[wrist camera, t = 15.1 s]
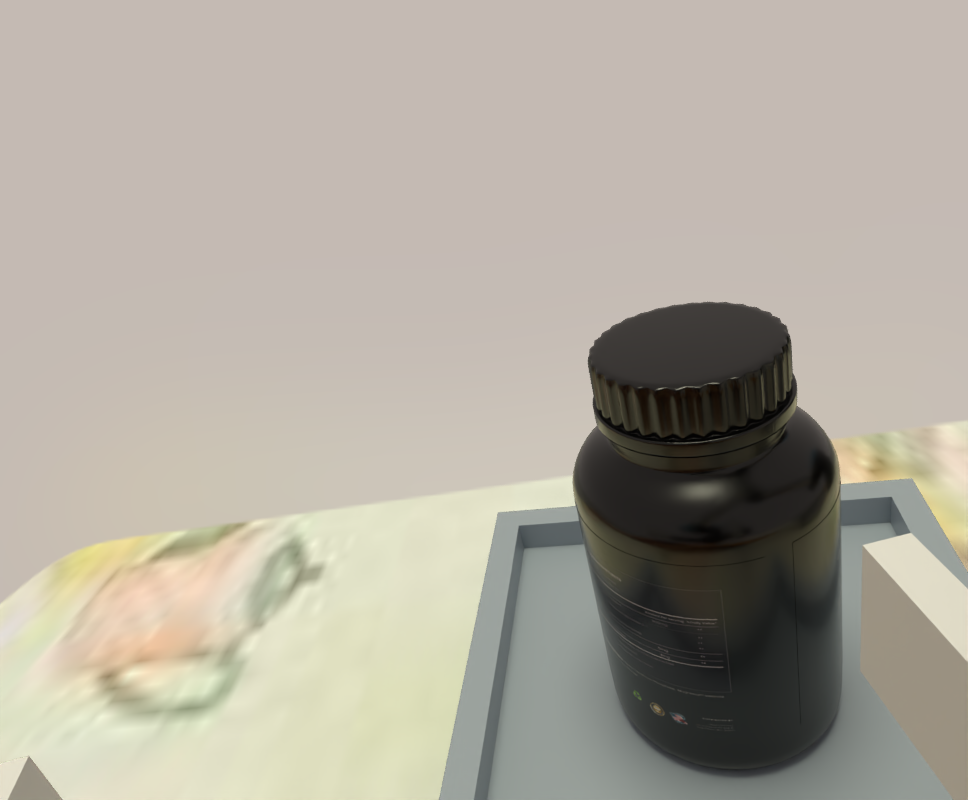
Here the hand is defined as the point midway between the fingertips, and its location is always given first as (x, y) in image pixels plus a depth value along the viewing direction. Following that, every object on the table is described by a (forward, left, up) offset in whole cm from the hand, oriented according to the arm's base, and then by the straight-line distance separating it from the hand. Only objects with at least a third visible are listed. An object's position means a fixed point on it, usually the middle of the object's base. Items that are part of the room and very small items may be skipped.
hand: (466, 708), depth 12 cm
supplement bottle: (-4, -9, -11) cm, 15 cm away
